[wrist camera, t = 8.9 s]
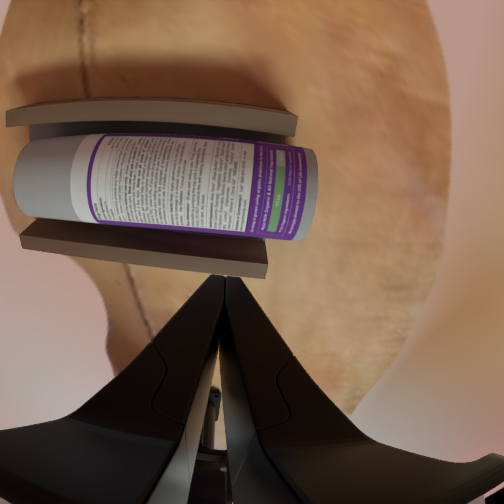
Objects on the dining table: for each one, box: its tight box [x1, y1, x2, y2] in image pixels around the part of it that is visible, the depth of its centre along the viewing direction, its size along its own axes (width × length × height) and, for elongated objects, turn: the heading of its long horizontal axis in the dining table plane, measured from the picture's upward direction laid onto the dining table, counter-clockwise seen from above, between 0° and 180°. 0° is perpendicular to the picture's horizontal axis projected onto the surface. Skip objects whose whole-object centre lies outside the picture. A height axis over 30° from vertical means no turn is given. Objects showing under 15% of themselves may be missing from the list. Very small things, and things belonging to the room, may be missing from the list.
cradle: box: [6, 97, 298, 279], centre depth 15 cm, size 9×16×3 cm, turn 81°
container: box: [13, 133, 318, 241], centre depth 14 cm, size 5×5×15 cm
